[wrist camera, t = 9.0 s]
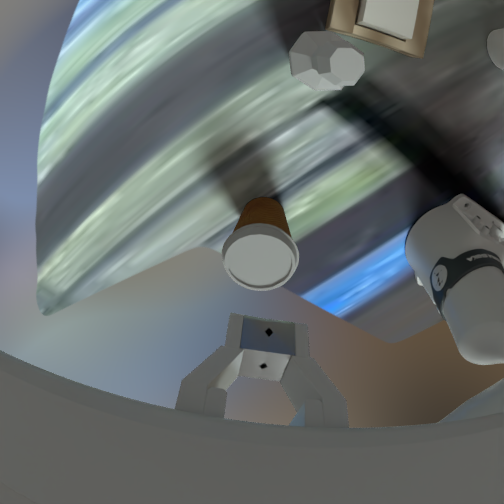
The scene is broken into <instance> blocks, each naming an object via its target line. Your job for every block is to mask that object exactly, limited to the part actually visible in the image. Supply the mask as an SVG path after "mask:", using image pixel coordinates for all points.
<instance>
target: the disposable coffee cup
mask: <svg viewBox="0 0 504 504" xmlns="http://www.w3.org/2000/svg"><path fill="white" fill-rule="evenodd" d="M222 261H223V264H224V267H225V269H226V271H227V273H228V275H229V276H230V277H231V279H232V280H233V281H234V282H236V283H237V284H239V285H240V286H242V287H245V288H247V289H252V290H257V291H265V290H271V289H275V288H278V287H280V286H281V285H283V284H285V283H286V282H287V281H288V280H289V279H290V278H291V276H292V274H293V273H294V271H295V270H296V268H297V265H298V262H299V252H298V249H297V245H296V244H295V242H294V241H293V239H292V238H291V234H290V231H289V227H288V224H287V220H286V217H285V214H284V210H283V208H282V206H281V205H280V204H279V203H278V202H277V201H276V200H274V199H271V198H267V197H259V198H255V199H253V200H251V201H250V202H249V203H248V204H247V205H246V206H245V208H244V210H243V212H242V214H241V216H240V218H239V221H238V223H237V225H236V227H235V229H234V231H233V233H232V234H231V235H230V236H229V237H228V239H227V240H226V241H225V243H224V246H223V249H222Z"/></svg>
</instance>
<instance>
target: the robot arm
mask: <svg viewBox="0 0 504 504" xmlns="http://www.w3.org/2000/svg"><path fill="white" fill-rule="evenodd" d="M466 203H467V204H466ZM465 204H466V205H465ZM405 254H406V258H407V261H408V263H409V264H410V266H411V267H412V268H413V270H414V271H415V278H416V281H417V283H418V284H419V285H422V286H424V288H425V289H426V291H427V293H428V294H429V296H430V298H431V299H432V301H433V302H434V304H436V306H437V309H438V311H439V313H440V314H441V316H442V318H443V319H444V320H445V321H447V323H448V325H449V327H450V330H451V332H452V335H453V337H454V340H455V342H456V345H457V347H458V350H459V352H460V354H461V355H462V356H463V357H464V358H465V359H466V360H468V361H470V362H471V363H475V364H480V365H490V364H496V363H504V223H503V222H502V221H501V220H499V219H498V218H497V217H495V216H494V215H493V214H491V213H490V212H488V211H487V210H486V209H484V208H483V207H482V206H480V205H479V204H477V203H476V202H475V201H473V200H472V199H470V198H469V197H467V196H466V195H464V194H459V195H457V196H456V197H454V198H453V199H452V200H451V201H450V202H448V203H447V204H444V205H442V206H439V207H436V208H434V209H432V210H430V211H429V212H427V213H426V214H424V215H423V216H422V217H421V218H420V219H419V220H418V221H417V222H416V223H415V225H414V226H413V227H412V229H411V231H410V233H409V235H408V237H407V241H406V246H405ZM238 376H243V377H252V378H260V379H267V380H274V381H280V383H281V385H282V387H283V389H284V390H285V392H286V394H287V396H288V397H289V399H290V401H291V403H292V404H293V406H294V408H295V410H296V411H297V414H296V415H295V417H294V418H293V420H292V421H291V423H290V424H289V425H288V426H285V425H274V424H264V423H254V422H247V421H246V422H245V421H239V420H232V419H225V418H224V414H225V406H226V397H227V392H226V389H227V388H228V387H229V386H230V385H231V384H232V383H233V382H234V380H235V379H236V378H237V377H238ZM0 504H504V378H503V379H502V380H501V381H499V382H497V383H496V384H494V385H493V386H491V387H489V388H488V389H486V390H484V391H483V392H481V393H479V394H478V395H476V396H474V397H472V398H471V399H469V400H467V401H466V402H465V403H463V404H462V405H461V406H459V407H458V408H457V409H455V410H454V411H453V412H451V413H450V414H449V415H448V416H446V417H445V418H444V419H443V420H441V421H440V422H439V423H434V424H424V425H413V426H399V427H379V428H349V424H348V413H347V403H346V399H345V398H344V397H343V396H342V394H341V393H340V392H339V390H338V389H337V388H336V387H335V385H334V384H333V383H332V381H331V380H330V379H329V378H328V377H327V375H326V374H325V372H324V371H323V370H322V369H321V367H320V366H319V365H318V364H317V362H316V361H315V360H314V358H310V352H309V337H308V326H307V324H301V323H293V322H286V321H279V320H272V319H263V318H258V317H252V316H247V315H244V316H243V315H240V314H235V313H230V318H229V323H228V329H227V335H226V342H225V346H220V347H219V348H218V349H217V350H216V351H215V352H213V353H212V354H211V355H210V356H209V357H208V358H207V359H205V360H204V361H203V362H202V363H201V364H200V365H199V366H198V367H196V368H195V369H194V370H193V371H192V372H191V373H190V374H188V375H187V376H186V377H185V378H184V379H183V380H182V382H181V386H180V390H179V394H178V398H177V402H176V406H175V409H170V408H166V407H161V406H157V405H153V404H149V403H145V402H141V401H137V400H134V399H130V398H126V397H123V396H119V395H116V394H112V393H109V392H106V391H102V390H99V389H96V388H93V387H90V386H86V385H84V384H81V383H78V382H75V381H72V380H70V379H67V378H64V377H61V376H59V375H56V374H54V373H51V372H48V371H46V370H43V369H41V368H38V367H36V366H34V365H31V364H29V363H27V362H24V361H22V360H20V359H18V358H15V357H13V356H11V355H9V354H7V353H5V352H2V351H0Z"/></svg>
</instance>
